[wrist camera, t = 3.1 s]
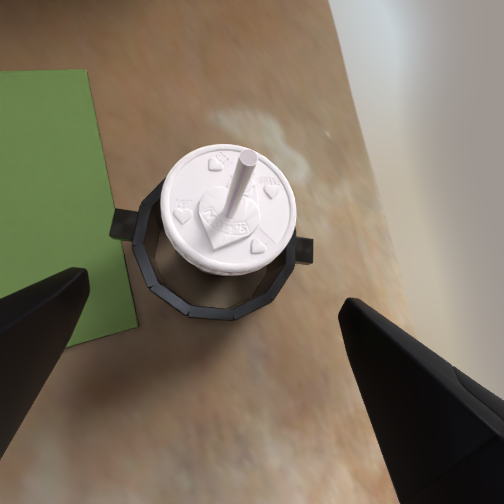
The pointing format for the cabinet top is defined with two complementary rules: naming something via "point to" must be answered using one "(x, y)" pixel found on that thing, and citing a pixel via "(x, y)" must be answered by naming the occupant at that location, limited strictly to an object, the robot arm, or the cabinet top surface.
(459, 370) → the robot arm
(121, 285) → the cloth
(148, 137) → the cabinet top surface
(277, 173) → the smoothie
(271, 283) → the pot
